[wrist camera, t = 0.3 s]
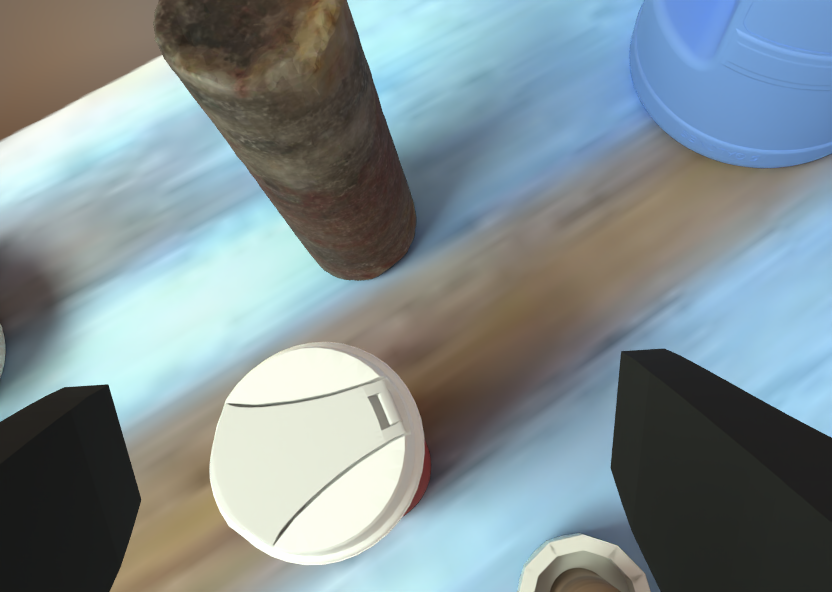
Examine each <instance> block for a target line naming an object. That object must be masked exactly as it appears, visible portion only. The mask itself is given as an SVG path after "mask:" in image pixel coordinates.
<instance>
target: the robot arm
mask: <svg viewBox="0 0 832 592" xmlns="http://www.w3.org/2000/svg"><path fill="white" fill-rule="evenodd" d="M611 471H612V474H613V477H614V480H615V483H616V486H617V489H618V492H619V495H620V499H621V502H622V505H623V507H624V510H625V513H626V516H627V519H628V522H629V524H630V527H631V530H632V532H633V535H634V537H635V539H636V541H637V543H638V545H639V547H640V549H641V551H642V554H643V556H644V558H645V560H646V562H647V564H648V566H649V568H650V570H651V572H652V574H653V576H654V578H655V580H656V582H657V584H658V586H659V589H660V591H661V592H832V438H831V437H829V436H827V435H825V434H823V433H821V432H819V431H818V430H816V429H814V428H812V427H810V426H808V425H806V424H804V423H802V422H800V421H798V420H797V419H795V418H793V417H791V416H789V415H787V414H785V413H784V412H782V411H780V410H778V409H776V408H774V407H773V406H771V405H769V404H767V403H765V402H763V401H762V400H760V399H758V398H756V397H754V396H753V395H751V394H749V393H747V392H745V391H744V390H742V389H740V388H738V387H737V386H735V385H733V384H731V383H729V382H728V381H726V380H724V379H722V378H720V377H719V376H717V375H715V374H713V373H711V372H710V371H708V370H706V369H704V368H702V367H701V366H699V365H697V364H695V363H693V362H691V361H689V360H687V359H686V358H684V357H682V356H680V355H677V354H675V353H673V352H671V351H669V350H666V349H650V350H635V351H621V360H620V371H619V382H618V393H617V404H616V415H615V426H614V437H613V448H612V459H611ZM140 503H141V497H140V493H139V490H138V486H137V483H136V479H135V476H134V472H133V469H132V465H131V462H130V459H129V455H128V452H127V448H126V445H125V441H124V438H123V434H122V431H121V427H120V424H119V420H118V417H117V413H116V410H115V406H114V403H113V399H112V396H111V392H110V389H109V385H93V386H78V387H64V388H62V389H60V390H58V391H56V392H53V393H51V394H49V395H47V396H45V397H43V398H41V399H40V400H38V401H36V402H34V403H32V404H30V405H29V406H27V407H25V408H23V409H22V410H20V411H18V412H16V413H15V414H13V415H11V416H10V417H8V418H6V419H4V420H3V421H1V422H0V592H109V591H110V589H111V587H112V585H113V583H114V580H115V578H116V576H117V574H118V571H119V569H120V567H121V564H122V561H123V558H124V555H125V552H126V549H127V546H128V543H129V540H130V537H131V533H132V530H133V527H134V523H135V520H136V516H137V513H138V509H139V506H140Z"/></svg>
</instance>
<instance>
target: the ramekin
mask: <svg viewBox="0 0 832 592" xmlns="http://www.w3.org/2000/svg"><path fill="white" fill-rule="evenodd" d="M5 352H6V349H5V338H4V333H3V329H2V326H1V324H0V378H1V375H2V372H3V368H4V363H5Z"/></svg>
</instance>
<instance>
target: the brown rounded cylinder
mask: <svg viewBox="0 0 832 592" xmlns="http://www.w3.org/2000/svg"><path fill="white" fill-rule="evenodd" d="M153 25H154V31H155V40H156V43H157V44H158V46H159V48H160V50H161V52H162V55H163V57H164V59H165V60H166V62H167V63H168V64H169V66H170V67H171V69H172V70H173V71H174V72H175V73H176V74H177V76H178V77H179V78H180V80H181V81H182V83H183V84H184V85H185V87H186V88H187V89H188V91H189V92H190V94H191V95H192V96H193V98H194V99H195V100H196V101H197V103H198V104H199V105H200V106H201V108H202V109H203V110H204V112H205V113H206V114H207V115H208V117H209V118H210V119H211V120H212V122H213V123H214V124H215V126H216V127H217V129H218V130H219V131H220V133H221V134H222V135H223V137H224V138H225V139H226V141H227V142H228V144H229V145H230V147H231V148H232V149H233V151H234V152H235V154H236V155H237V157H238V158H239V159H240V160H241V161H242V162H243V163H244V165H245V166H246V167H247V169H248V170H249V172H250V173H251V175H252V176H253V177H254V178H255V179H256V181H257V182H258V184H259V186H260V187H261V188H262V190H263V191H264V192H265V194H266V195H267V196H268V198H269V199H270V201H271V202H272V203H273V205H274V206H275V207H276V209H277V210H278V212H279V213H280V214H281V215H282V217H283V218H284V219H285V221H286V222H287V224H288V225H289V226H290V228H291V229H292V231H293V232H294V233H295V235H296V236H297V237H298V239H299V240H300V241H301V243H302V244H303V245H304V247H305V248H306V249H307V250H308V252H309V253H310V254H311V256H312V257H313V258H314V259H315V260H316V262H317V263H318V264H319V265H320V266H321V267H322V268H323V269H324V270H325V271H326V272H328V273H330V274H331V275H333V276H335V277H337V278H341V279H345V280H357V281H359V280H368V279H373V278H375V277H377V276H379V275H380V274H382V273H383V272H384V271H386V270H387V269H389V268H391V267H392V266H393V265H394V264H395V263H396V262H398V261H399V260H400V259H401V258H402V257H403V256H404V255H405V254H406V253H407V251H408V249H409V247H410V244H411V243H412V241H413V239H414V235H415V227H416V214H415V208H414V204H413V200H412V197H411V193H410V190H409V187H408V184H407V181H406V178H405V175H404V172H403V169H402V166H401V164H400V160H399V157H398V154H397V151H396V149H395V146H394V143H393V140H392V137H391V134H390V132H389V128H388V125H387V122H386V119H385V116H384V114H383V112H382V108H381V104H380V101H379V97H378V94H377V91H376V88H375V85H374V82H373V79H372V74H371V71H370V68H369V65H368V63H367V60H366V58H365V55H364V52H363V49H362V46H361V43H360V39H359V35H358V32H357V30H356V27H355V24H354V21H353V18H352V14H351V11H350V9H349V6H348V3H347V0H159V2H158V5H157V8H156V10H155V19H154V22H153Z"/></svg>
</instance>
